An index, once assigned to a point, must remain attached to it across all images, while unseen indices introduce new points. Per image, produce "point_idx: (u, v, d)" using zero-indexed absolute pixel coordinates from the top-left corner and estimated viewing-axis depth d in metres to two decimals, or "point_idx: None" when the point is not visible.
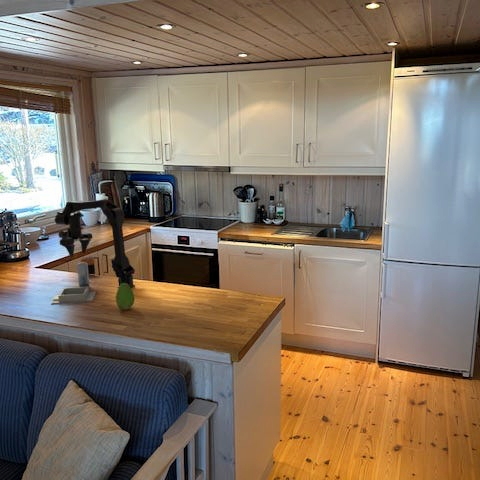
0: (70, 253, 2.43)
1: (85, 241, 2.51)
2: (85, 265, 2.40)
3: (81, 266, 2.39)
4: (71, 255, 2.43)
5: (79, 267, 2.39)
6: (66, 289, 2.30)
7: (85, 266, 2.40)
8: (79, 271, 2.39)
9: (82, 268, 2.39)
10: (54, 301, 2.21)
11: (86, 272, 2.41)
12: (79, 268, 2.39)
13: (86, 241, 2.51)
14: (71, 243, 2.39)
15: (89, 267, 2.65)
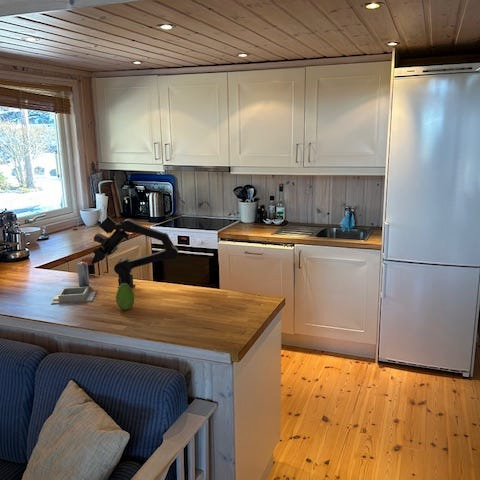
0: (94, 261, 2.34)
1: (109, 252, 2.43)
2: (85, 265, 2.40)
3: (81, 266, 2.39)
4: (93, 262, 2.35)
5: (79, 267, 2.39)
6: (66, 289, 2.30)
7: (85, 266, 2.40)
8: (79, 271, 2.39)
9: (82, 268, 2.39)
10: (54, 301, 2.21)
11: (86, 272, 2.41)
12: (79, 268, 2.39)
13: (110, 252, 2.44)
14: (104, 258, 2.31)
15: (89, 267, 2.65)
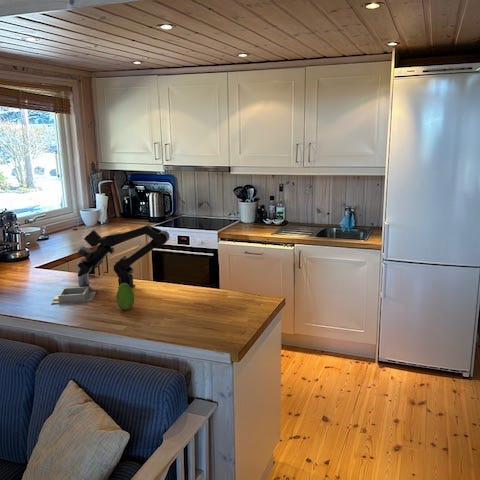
0: (80, 273, 2.38)
1: (92, 266, 2.44)
2: None
3: None
4: (79, 275, 2.39)
5: None
6: (66, 289, 2.30)
7: None
8: None
9: None
10: (54, 301, 2.21)
11: None
12: (79, 268, 2.39)
13: (93, 267, 2.44)
14: (88, 272, 2.33)
15: None
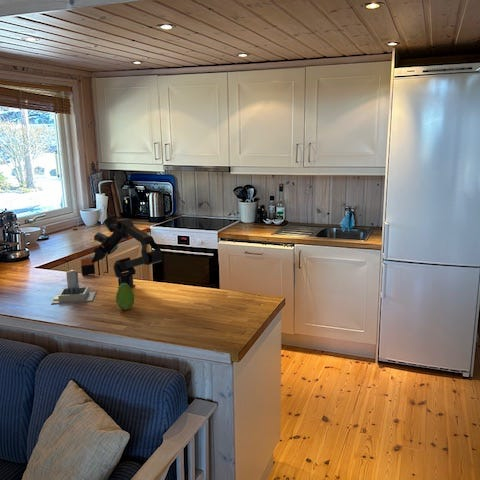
0: (94, 259, 2.36)
1: None
2: (77, 273, 2.24)
3: (73, 274, 2.22)
4: (93, 261, 2.37)
5: (71, 275, 2.22)
6: (66, 289, 2.30)
7: (77, 274, 2.24)
8: (71, 280, 2.22)
9: (74, 276, 2.22)
10: (54, 301, 2.21)
11: None
12: (71, 277, 2.22)
13: (110, 251, 2.46)
14: (104, 257, 2.33)
15: (89, 267, 2.65)
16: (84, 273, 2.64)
